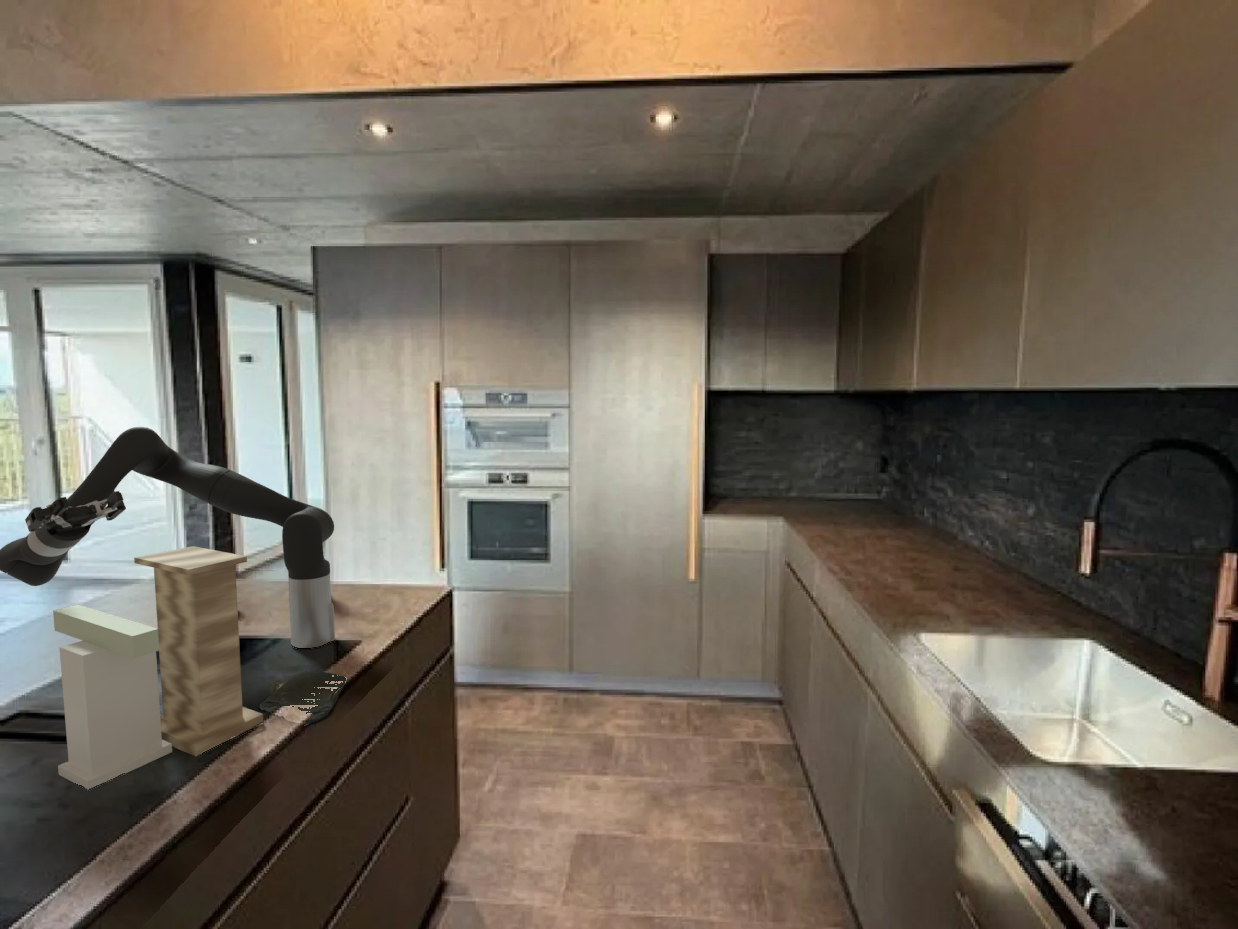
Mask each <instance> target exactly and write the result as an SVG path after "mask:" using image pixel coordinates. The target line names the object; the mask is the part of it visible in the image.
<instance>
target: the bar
mask: <svg viewBox="0 0 1238 929" xmlns="http://www.w3.org/2000/svg"><path fill="white" fill-rule="evenodd" d="M52 613H53V614H52V615H53V624H54V625H53V626H54V627H53V628H54V632H57V633H60V634H63V635H66V636H69V637H72V638H74V639H78V640H79V641H85V642H88V643H91V644H94V645H97V646H100V647H102V648H105V649H108V650H111V651H114V652H117V653H119V654H122V655H125V656H128V657H131V658H137V657H141V656H144V655H147V654H150V653H153V652H156V653H157V652H159V638H158V627H153V626H150V625H146V624H144V623H141V622H137V621H133V620H130V619H127V618H124V617H121V616H117V615H114V614H110V613H107V612H104V611H100V610H97V609H95V608H91V607H88V606H84V605H81V604H75V605H70V606H66V607H63V608H58V609H54V610H53V611H52Z"/></svg>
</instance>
